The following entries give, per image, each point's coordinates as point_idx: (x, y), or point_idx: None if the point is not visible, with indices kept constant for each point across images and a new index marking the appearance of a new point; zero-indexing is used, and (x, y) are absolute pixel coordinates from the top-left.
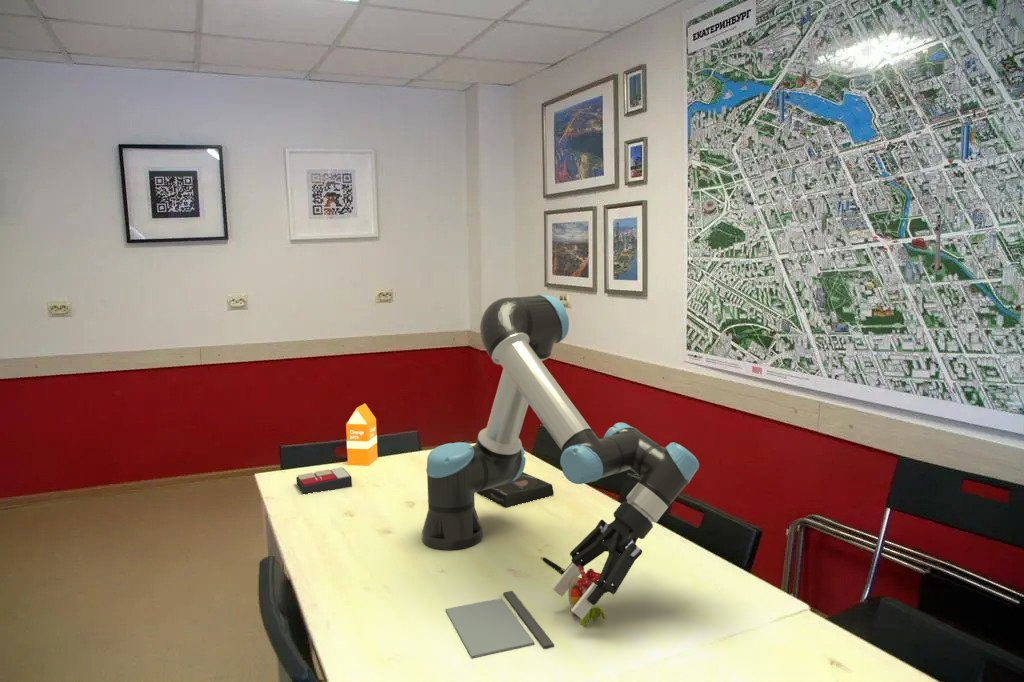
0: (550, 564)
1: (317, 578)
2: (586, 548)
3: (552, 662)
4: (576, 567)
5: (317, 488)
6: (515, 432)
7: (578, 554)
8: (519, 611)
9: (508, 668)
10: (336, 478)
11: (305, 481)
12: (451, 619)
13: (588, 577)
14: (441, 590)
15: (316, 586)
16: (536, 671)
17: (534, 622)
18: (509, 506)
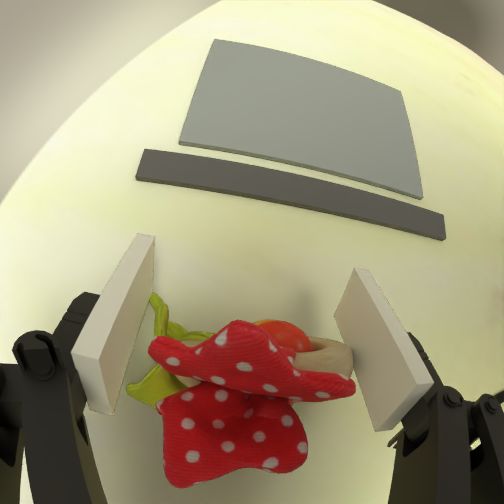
0: (502, 393)
1: (481, 66)
2: (464, 496)
3: (86, 145)
4: (398, 399)
5: None
6: None
7: (461, 434)
8: (349, 191)
9: (137, 70)
10: None
11: None
12: (361, 75)
13: (252, 414)
14: (463, 134)
15: (466, 54)
16: (88, 105)
17: (274, 191)
18: None
